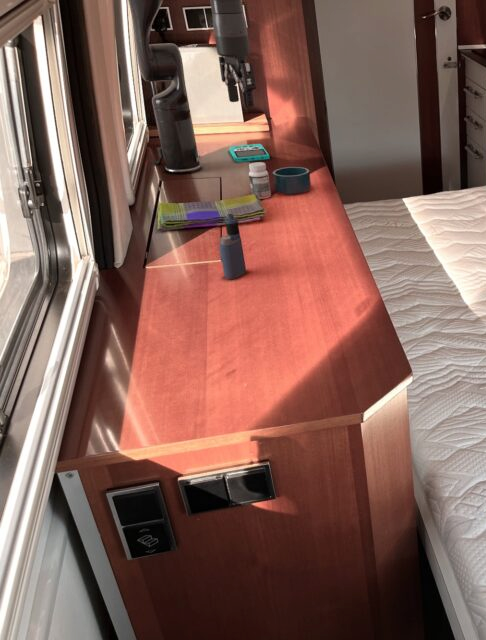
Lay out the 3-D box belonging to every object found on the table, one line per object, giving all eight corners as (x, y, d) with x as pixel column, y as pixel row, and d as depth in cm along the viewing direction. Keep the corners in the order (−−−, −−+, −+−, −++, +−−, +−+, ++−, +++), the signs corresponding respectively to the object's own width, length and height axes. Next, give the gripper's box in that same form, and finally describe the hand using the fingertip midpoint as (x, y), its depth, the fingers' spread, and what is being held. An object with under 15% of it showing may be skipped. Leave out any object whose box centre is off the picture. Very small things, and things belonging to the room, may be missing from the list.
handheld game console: (262, 147, 254) (261, 142, 254) (270, 159, 242) (270, 154, 241) (229, 150, 251) (228, 145, 250) (236, 162, 238) (235, 157, 238)
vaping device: (249, 271, 164) (239, 213, 158) (233, 280, 160) (223, 221, 154) (238, 269, 165) (228, 212, 159) (222, 278, 160) (211, 220, 155)
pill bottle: (254, 194, 211) (249, 161, 206) (272, 193, 211) (268, 161, 207) (250, 199, 207) (245, 166, 202) (269, 199, 207) (264, 166, 203)
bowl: (269, 189, 214) (266, 170, 212) (301, 183, 219) (299, 165, 217) (285, 197, 208) (282, 178, 206) (317, 191, 213) (315, 172, 211)
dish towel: (158, 210, 198) (156, 199, 196) (261, 201, 205) (260, 190, 204) (158, 233, 184) (155, 221, 182) (268, 222, 191) (267, 210, 190)
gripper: (259, 35, 189) (268, 107, 197) (233, 28, 198) (243, 98, 206) (228, 37, 185) (239, 111, 193) (203, 31, 194) (215, 101, 202)
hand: (241, 104), depth 200 cm, fingers open, 8 cm apart
